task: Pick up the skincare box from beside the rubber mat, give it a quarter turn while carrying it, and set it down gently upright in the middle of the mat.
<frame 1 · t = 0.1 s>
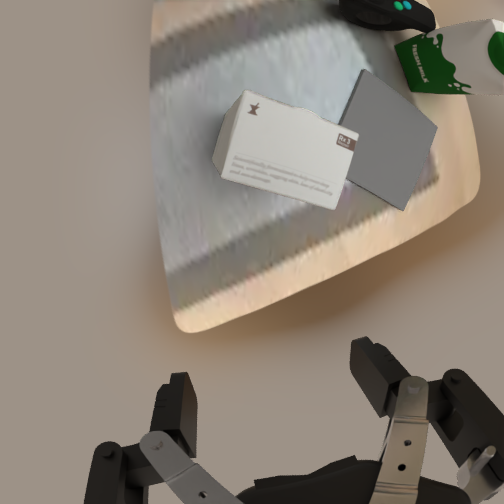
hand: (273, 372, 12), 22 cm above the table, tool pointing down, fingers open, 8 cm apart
mat: (385, 142, 30), on the table
skincare box: (255, 144, 29), on the table
controller: (365, 20, 23), on the table
milk carton: (418, 66, 26), on the table
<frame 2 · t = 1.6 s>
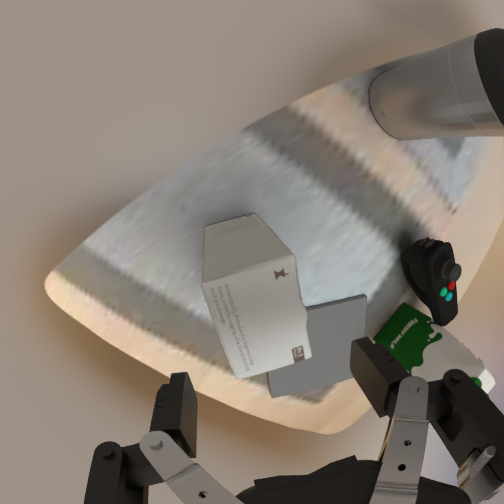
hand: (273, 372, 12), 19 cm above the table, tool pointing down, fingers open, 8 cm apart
mat: (316, 349, 35), on the table
skincare box: (241, 254, 31), on the table
controller: (411, 268, 34), on the table
milk carton: (399, 329, 37), on the table
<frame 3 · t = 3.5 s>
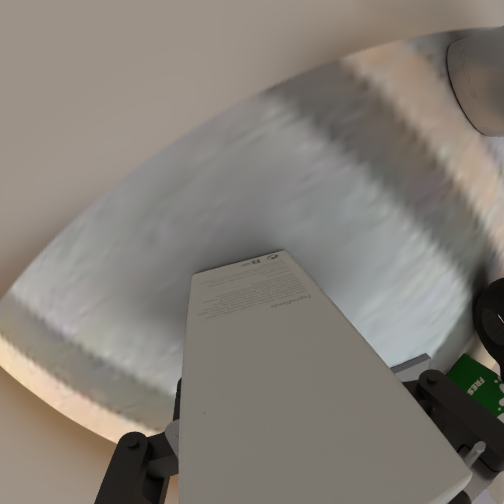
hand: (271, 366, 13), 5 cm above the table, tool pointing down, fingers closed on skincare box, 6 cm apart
mat: (354, 424, 22), on the table
skincare box: (257, 318, 17), on the table, touching gripper
controller: (479, 311, 21), on the table
milk carton: (451, 383, 24), on the table
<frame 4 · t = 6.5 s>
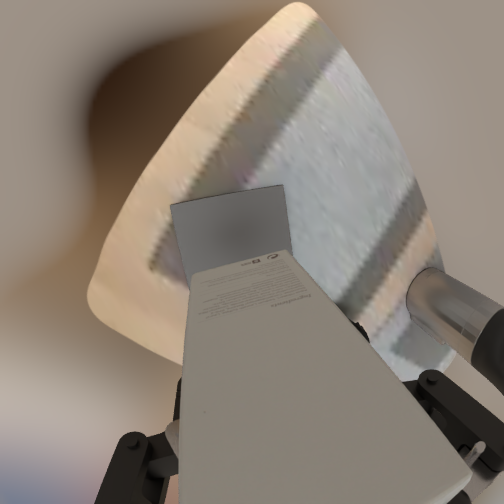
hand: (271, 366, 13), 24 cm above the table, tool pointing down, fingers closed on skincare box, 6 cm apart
mat: (235, 248, 36), on the table
skincare box: (257, 318, 17), point 19 cm above the table, touching gripper
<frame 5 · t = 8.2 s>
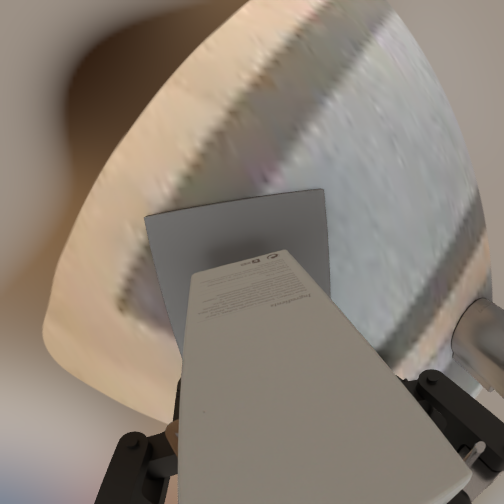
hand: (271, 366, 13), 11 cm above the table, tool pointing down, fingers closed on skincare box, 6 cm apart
mat: (246, 284, 23), on the table
skincare box: (256, 317, 17), point 6 cm above the table, touching gripper
when the fingers open (7 cm above the table, at t = 9.5 s): skincare box drops 2 cm, resting on mat.
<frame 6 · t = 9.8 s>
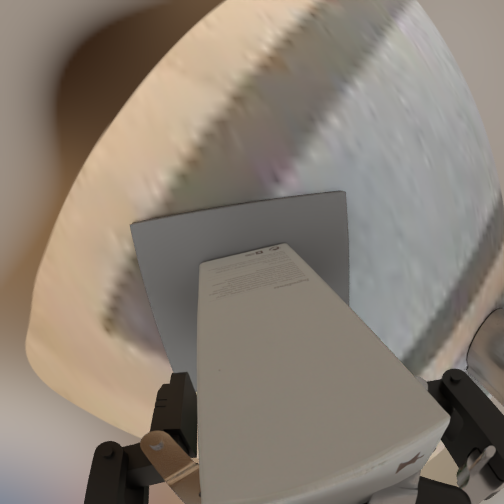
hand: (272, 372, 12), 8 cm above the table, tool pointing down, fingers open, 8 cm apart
mat: (253, 303, 19), on the table
skincare box: (257, 306, 19), point 1 cm above the table, touching mat
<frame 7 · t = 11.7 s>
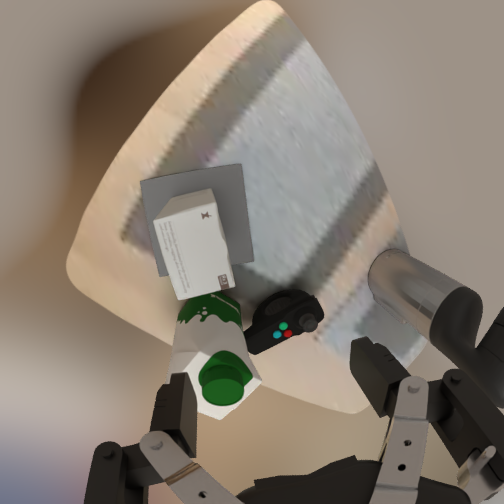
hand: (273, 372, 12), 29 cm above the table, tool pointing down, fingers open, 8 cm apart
mat: (197, 220, 38), on the table
skincare box: (199, 221, 38), point 1 cm above the table, touching mat
controller: (271, 303, 44), on the table
milk carton: (208, 309, 43), on the table
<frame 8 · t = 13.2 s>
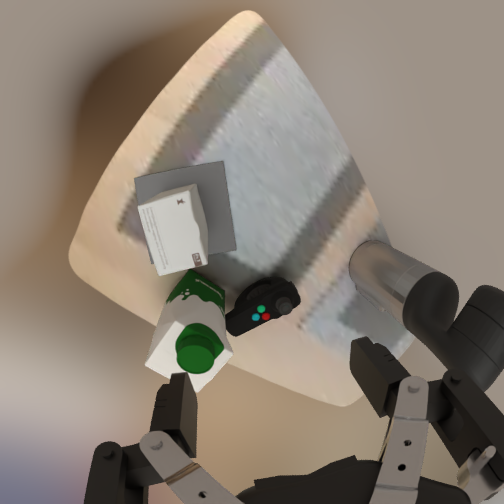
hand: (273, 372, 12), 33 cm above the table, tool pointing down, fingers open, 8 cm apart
mat: (185, 213, 42), on the table
skincare box: (186, 213, 42), point 1 cm above the table, touching mat
controller: (254, 291, 47), on the table
milk carton: (195, 295, 46), on the table
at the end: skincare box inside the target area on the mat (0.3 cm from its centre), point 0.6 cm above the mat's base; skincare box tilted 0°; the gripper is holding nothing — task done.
